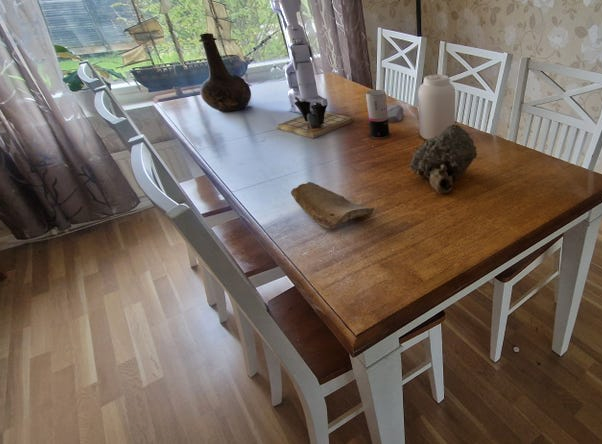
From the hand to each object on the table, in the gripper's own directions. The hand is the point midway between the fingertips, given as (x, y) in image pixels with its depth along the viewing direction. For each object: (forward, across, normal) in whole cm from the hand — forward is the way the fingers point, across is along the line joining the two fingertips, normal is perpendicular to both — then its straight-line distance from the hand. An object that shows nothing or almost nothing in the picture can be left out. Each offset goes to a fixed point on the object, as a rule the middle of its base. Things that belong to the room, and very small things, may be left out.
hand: (314, 122), depth 134 cm
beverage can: (+3, +23, +8) cm, 25 cm away
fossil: (+3, +45, -38) cm, 59 cm away
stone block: (+3, +14, +24) cm, 28 cm away
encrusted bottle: (+3, +60, -11) cm, 61 cm away
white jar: (+3, +40, +19) cm, 44 cm away
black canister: (+1, 0, 0) cm, 1 cm away
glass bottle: (+3, -49, 0) cm, 49 cm away
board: (+3, -4, +4) cm, 6 cm away
